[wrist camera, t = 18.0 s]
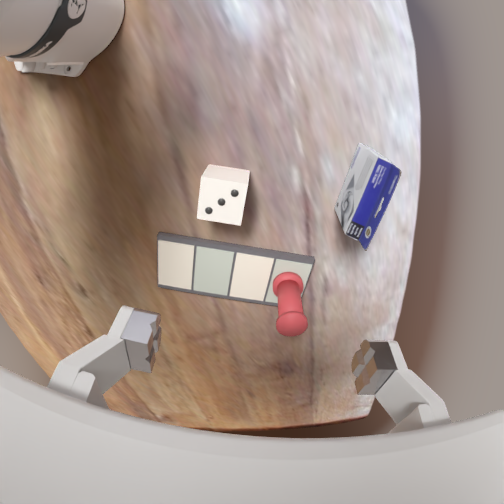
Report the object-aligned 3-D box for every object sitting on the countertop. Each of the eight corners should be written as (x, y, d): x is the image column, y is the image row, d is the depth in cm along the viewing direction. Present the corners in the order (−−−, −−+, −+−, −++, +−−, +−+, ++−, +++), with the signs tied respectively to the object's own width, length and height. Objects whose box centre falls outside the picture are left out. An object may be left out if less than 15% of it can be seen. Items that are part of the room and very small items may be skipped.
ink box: (357, 140, 39) (387, 162, 29) (371, 146, 39) (404, 169, 29) (331, 209, 45) (350, 249, 35) (344, 213, 45) (366, 253, 36)
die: (204, 201, 45) (196, 219, 40) (208, 164, 42) (201, 176, 37) (243, 208, 45) (241, 226, 40) (250, 170, 42) (248, 184, 37)
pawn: (269, 293, 52) (270, 335, 44) (276, 269, 50) (278, 311, 41) (298, 297, 53) (304, 339, 44) (306, 274, 50) (314, 315, 42)
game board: (159, 283, 54) (157, 287, 53) (159, 231, 48) (157, 235, 47) (297, 305, 55) (297, 309, 54) (313, 256, 50) (315, 260, 49)
